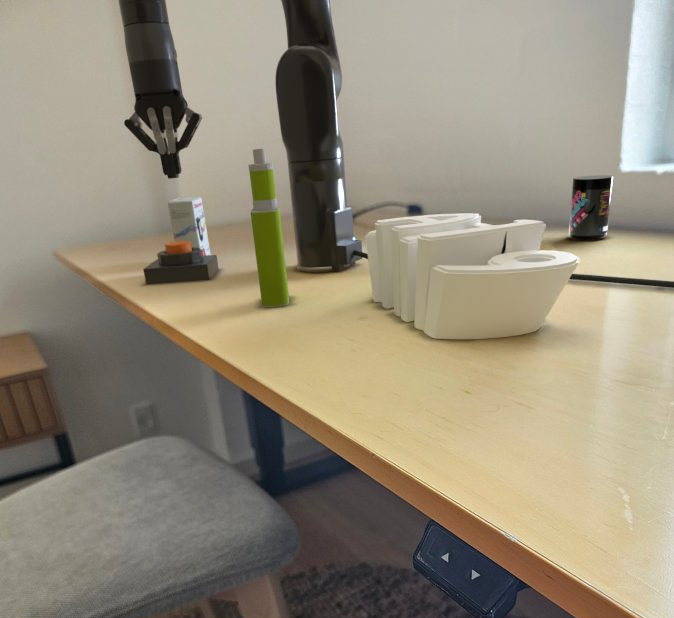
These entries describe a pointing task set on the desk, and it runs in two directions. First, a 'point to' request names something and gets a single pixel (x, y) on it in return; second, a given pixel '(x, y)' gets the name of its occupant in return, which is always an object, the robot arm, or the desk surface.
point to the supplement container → (590, 207)
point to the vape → (267, 233)
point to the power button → (178, 247)
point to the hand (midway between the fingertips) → (173, 177)
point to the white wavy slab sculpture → (466, 274)
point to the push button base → (181, 267)
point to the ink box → (189, 222)
